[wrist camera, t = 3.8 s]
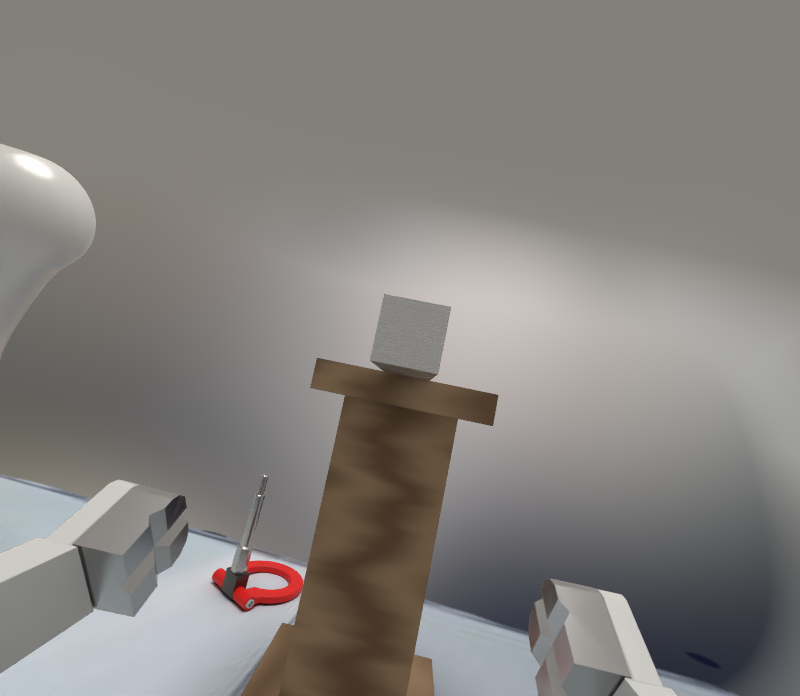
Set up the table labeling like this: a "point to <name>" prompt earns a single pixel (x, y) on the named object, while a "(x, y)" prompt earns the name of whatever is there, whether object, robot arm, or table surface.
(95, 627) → the table surface
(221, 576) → the tow hook
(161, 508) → the robot arm
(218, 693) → the table surface
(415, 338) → the metal block
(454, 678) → the table surface
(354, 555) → the walnut stand
